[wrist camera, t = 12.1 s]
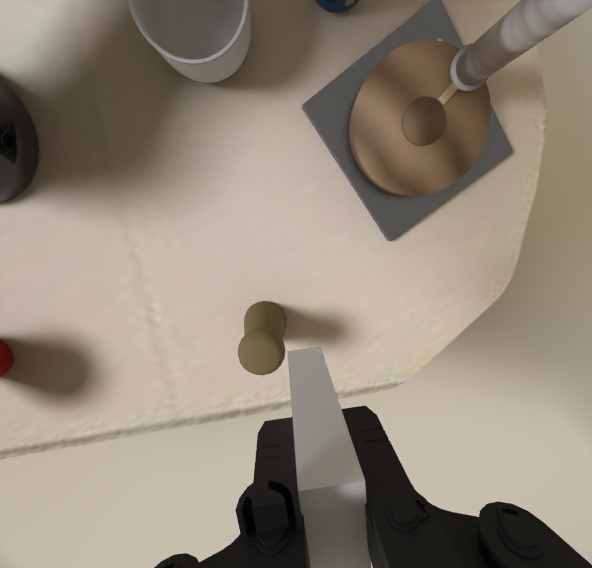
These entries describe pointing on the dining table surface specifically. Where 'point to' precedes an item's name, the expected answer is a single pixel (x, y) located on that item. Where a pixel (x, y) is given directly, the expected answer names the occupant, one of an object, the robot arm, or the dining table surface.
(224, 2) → the teacup
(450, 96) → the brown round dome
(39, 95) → the dining table surface
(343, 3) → the soda can
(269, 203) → the dining table surface
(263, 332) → the cork
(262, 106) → the dining table surface
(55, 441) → the dining table surface
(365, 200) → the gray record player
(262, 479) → the robot arm
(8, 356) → the plastic cup
